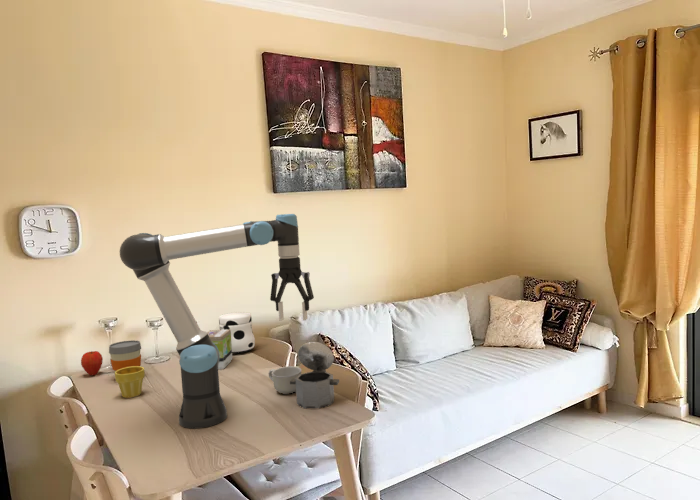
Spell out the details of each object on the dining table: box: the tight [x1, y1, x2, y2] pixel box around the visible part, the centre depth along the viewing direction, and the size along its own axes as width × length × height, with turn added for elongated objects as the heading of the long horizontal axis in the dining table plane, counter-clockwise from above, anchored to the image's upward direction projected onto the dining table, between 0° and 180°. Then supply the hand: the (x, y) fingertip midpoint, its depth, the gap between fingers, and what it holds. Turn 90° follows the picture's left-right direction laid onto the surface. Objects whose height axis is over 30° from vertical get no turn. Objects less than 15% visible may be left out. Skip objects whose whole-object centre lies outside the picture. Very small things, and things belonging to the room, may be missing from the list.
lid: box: [297, 341, 334, 371], centre depth 189 cm, size 13×13×2 cm
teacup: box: [268, 365, 302, 395], centre depth 200 cm, size 14×11×8 cm
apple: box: [80, 350, 103, 376], centre depth 235 cm, size 9×8×11 cm
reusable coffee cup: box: [108, 339, 142, 374], centre depth 227 cm, size 13×13×15 cm
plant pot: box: [114, 366, 146, 399], centre depth 205 cm, size 10×10×10 cm
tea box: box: [206, 329, 233, 370], centre depth 240 cm, size 15×10×15 cm
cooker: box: [290, 369, 340, 409], centre depth 186 cm, size 13×17×9 cm
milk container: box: [218, 311, 256, 355], centre depth 263 cm, size 17×17×18 cm
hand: (293, 319), depth 194 cm, fingers open, 8 cm apart
